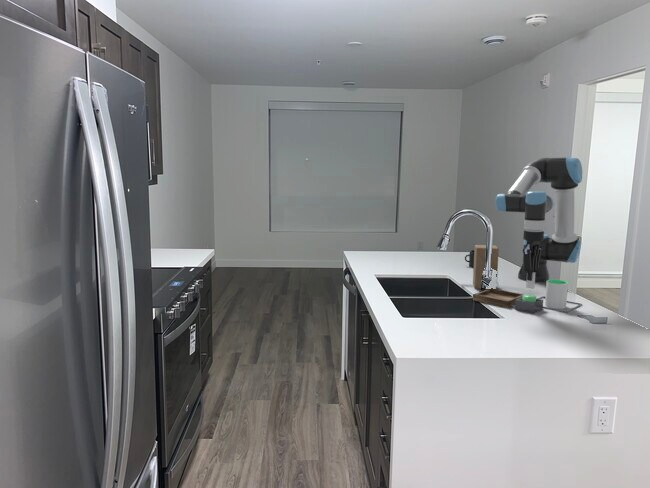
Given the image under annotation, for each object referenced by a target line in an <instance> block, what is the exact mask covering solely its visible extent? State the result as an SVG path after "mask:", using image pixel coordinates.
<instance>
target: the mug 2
mask: <svg viewBox="0 0 650 488" xmlns="http://www.w3.org/2000/svg"><path fill="white" fill-rule="evenodd" d="M545 286H546V287H545V288H546V289H545V296H544V297H545V298H544V300H545V301H544V307H548V308H553V309H558V310H562V309H563V310H564V309H566V308H567V303H568V302H567V301H568V299H567V298H568V287H569V282H568V281H566V280H561V279H549V280H547V281H546V285H545Z"/></svg>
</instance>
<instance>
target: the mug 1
mask: <svg viewBox="0 0 650 488" xmlns="http://www.w3.org/2000/svg"><path fill="white" fill-rule="evenodd" d="M474 250H475V249H473V250H469V254H466V255H465V256H464V260H465V262H466V263H468V266H469V267H470V268H473V269H474ZM467 258H468V259H469V260H467Z"/></svg>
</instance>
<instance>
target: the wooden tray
mask: <svg viewBox="0 0 650 488" xmlns="http://www.w3.org/2000/svg"><path fill="white" fill-rule="evenodd" d="M523 295H525V294H524V293H518V292H512V291H507V290H502V289H497V288H496V289H493V288H491V289H484V290H482V291H478V292H476V293H473V294H472V301H475V302H480V303H484V304H488V305H493V306H498V307H502V308H510V307H511V308H512V307H513V306H515V300H516V299H519V298H521V297H523Z"/></svg>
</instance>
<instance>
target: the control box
mask: <svg viewBox="0 0 650 488" xmlns="http://www.w3.org/2000/svg"><path fill="white" fill-rule="evenodd" d="M543 307H544V299H537V298H536V302H534V303H532V302H527V301H522V297H521V298H519V299H516V300H515V305H514V310H517V311H520V312H526V313H530V314H536V313H539V312H540V311H543V310H544V308H543Z"/></svg>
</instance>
